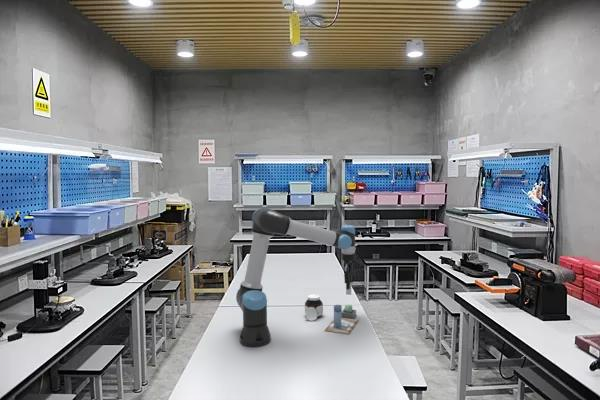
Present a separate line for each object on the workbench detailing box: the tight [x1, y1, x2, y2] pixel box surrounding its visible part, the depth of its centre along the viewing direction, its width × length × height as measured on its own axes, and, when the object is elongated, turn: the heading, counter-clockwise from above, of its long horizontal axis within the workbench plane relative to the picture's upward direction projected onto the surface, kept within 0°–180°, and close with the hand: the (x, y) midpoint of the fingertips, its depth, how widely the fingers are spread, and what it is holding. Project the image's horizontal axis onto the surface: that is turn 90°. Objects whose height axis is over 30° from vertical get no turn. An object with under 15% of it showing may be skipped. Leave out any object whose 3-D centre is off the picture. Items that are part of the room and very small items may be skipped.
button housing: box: [341, 308, 357, 319], centre depth 230 cm, size 7×7×3 cm
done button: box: [344, 304, 353, 313], centre depth 230 cm, size 4×4×4 cm
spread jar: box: [304, 293, 324, 322], centre depth 229 cm, size 12×11×12 cm
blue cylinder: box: [333, 304, 343, 328], centre depth 213 cm, size 4×4×11 cm
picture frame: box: [324, 318, 360, 336], centre depth 217 cm, size 20×13×1 cm, turn 158°
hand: (348, 294), depth 229 cm, fingers closed
